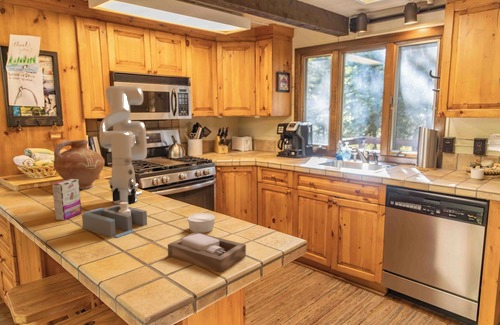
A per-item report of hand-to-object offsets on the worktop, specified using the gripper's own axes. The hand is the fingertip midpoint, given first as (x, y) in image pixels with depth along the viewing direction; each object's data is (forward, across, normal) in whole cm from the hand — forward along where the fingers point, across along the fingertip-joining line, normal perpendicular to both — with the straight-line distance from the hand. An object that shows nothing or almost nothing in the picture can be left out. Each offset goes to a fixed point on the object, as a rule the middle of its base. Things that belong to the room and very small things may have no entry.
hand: (123, 202), depth 140 cm
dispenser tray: (+11, -48, +5) cm, 50 cm away
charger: (+10, -48, +6) cm, 50 cm away
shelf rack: (+10, +1, +3) cm, 10 cm away
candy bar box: (+10, +31, +6) cm, 33 cm away
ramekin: (+11, -30, -14) cm, 35 cm away
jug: (+8, +80, -31) cm, 86 cm away
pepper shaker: (+10, +1, -1) cm, 10 cm away
